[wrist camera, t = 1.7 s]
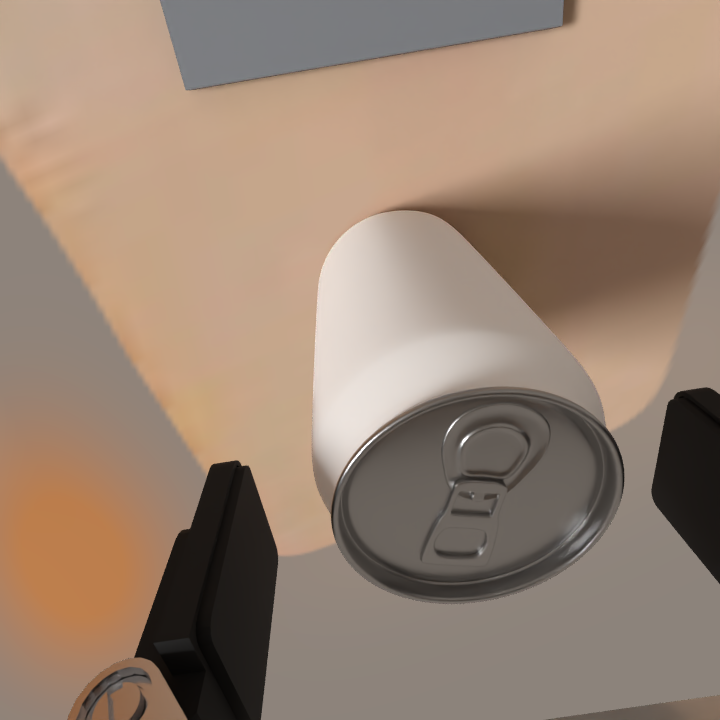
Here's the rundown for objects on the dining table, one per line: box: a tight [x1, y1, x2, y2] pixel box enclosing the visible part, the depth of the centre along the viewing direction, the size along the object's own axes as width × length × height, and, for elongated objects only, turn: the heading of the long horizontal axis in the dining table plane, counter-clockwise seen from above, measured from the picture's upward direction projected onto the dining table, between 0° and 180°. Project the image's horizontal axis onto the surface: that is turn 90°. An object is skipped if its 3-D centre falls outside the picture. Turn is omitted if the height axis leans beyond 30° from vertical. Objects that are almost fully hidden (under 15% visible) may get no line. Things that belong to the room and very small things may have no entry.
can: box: [312, 210, 624, 604], centre depth 14 cm, size 6×6×12 cm
